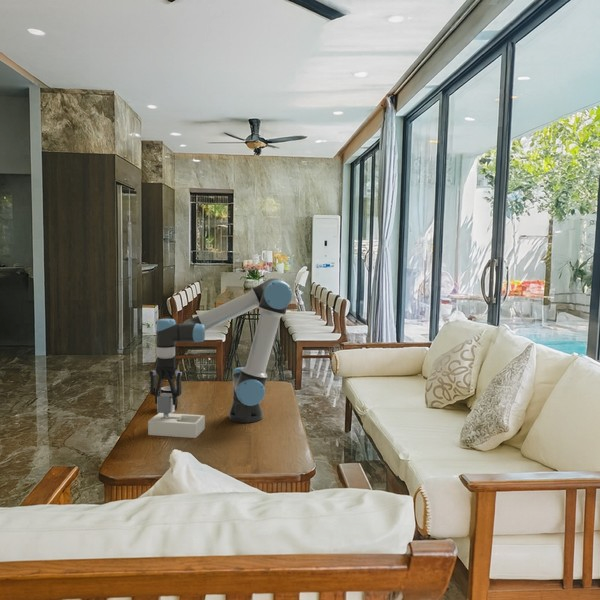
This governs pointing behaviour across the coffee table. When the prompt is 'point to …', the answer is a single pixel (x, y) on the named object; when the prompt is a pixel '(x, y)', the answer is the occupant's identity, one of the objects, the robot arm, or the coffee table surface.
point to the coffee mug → (168, 390)
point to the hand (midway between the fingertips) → (165, 411)
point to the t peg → (164, 404)
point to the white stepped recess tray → (176, 425)
